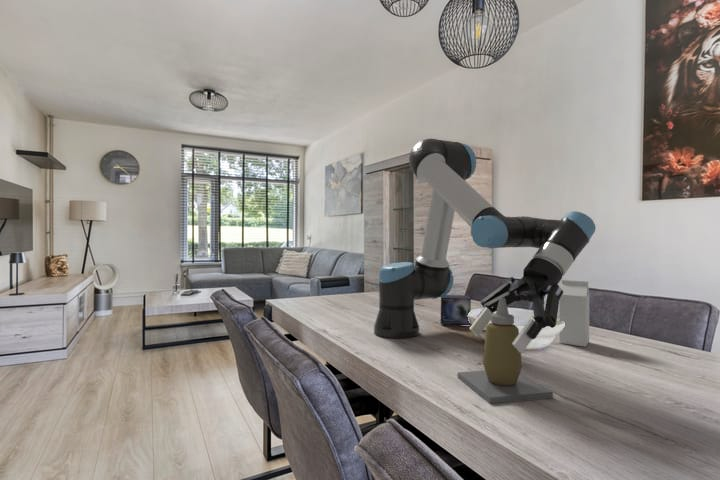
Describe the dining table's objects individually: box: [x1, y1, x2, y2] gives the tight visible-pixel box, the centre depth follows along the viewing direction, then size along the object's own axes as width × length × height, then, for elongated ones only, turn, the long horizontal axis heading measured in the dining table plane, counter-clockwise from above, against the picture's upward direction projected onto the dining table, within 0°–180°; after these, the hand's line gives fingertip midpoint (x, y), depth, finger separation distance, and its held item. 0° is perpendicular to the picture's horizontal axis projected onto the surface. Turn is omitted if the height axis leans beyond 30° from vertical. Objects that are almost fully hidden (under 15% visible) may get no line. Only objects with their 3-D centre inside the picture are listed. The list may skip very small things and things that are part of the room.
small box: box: [439, 294, 472, 326], centre depth 142 cm, size 11×6×10 cm, turn 80°
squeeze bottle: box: [482, 298, 523, 385], centre depth 83 cm, size 8×8×18 cm
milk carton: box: [558, 279, 590, 348], centre depth 118 cm, size 7×7×19 cm
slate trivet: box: [457, 369, 554, 404], centre depth 83 cm, size 14×14×1 cm
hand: (493, 340), depth 82 cm, fingers open, 13 cm apart
